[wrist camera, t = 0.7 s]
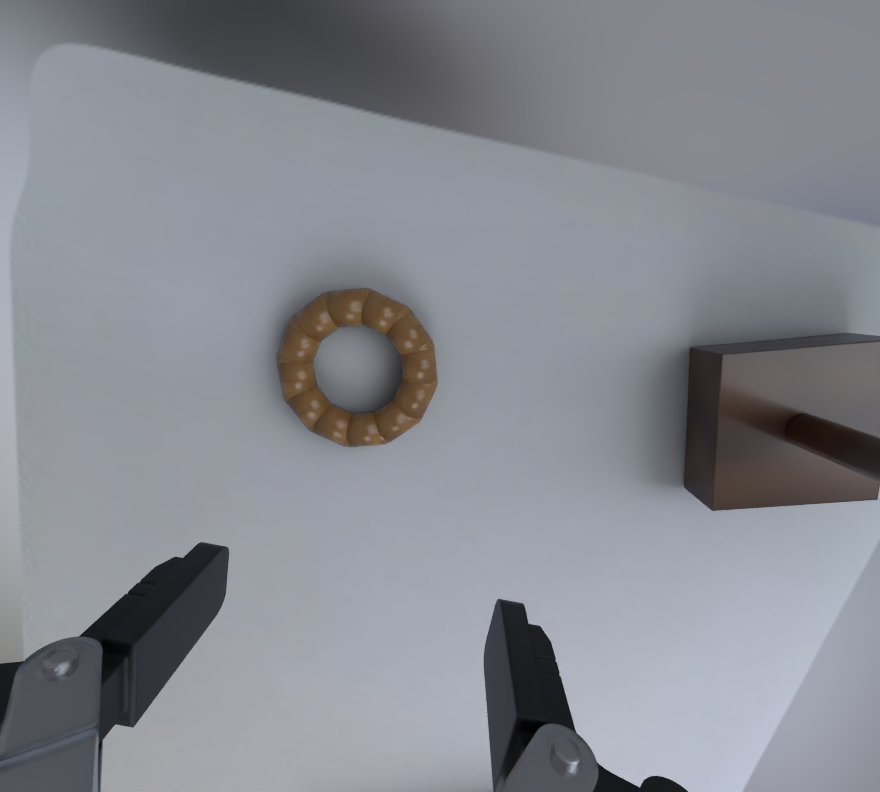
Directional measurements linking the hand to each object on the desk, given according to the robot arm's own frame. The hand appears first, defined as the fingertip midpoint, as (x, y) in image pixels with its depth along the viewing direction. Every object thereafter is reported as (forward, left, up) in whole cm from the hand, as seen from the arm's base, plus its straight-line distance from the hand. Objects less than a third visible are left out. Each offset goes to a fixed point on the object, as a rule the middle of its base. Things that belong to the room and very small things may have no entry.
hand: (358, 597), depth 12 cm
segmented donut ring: (-5, -2, -14) cm, 15 cm away
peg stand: (0, +22, -15) cm, 26 cm away
